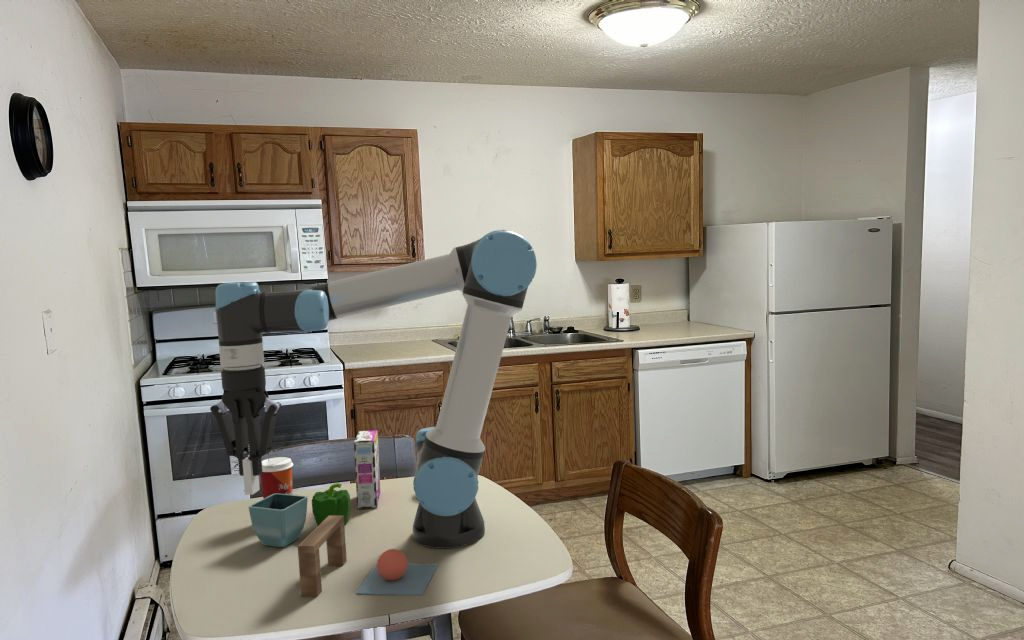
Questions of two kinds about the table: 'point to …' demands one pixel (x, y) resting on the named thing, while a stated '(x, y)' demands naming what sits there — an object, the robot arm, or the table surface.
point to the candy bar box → (367, 469)
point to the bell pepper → (331, 504)
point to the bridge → (310, 557)
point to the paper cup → (276, 476)
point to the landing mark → (399, 581)
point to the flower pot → (279, 518)
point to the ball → (392, 564)
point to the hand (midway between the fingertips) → (252, 492)
